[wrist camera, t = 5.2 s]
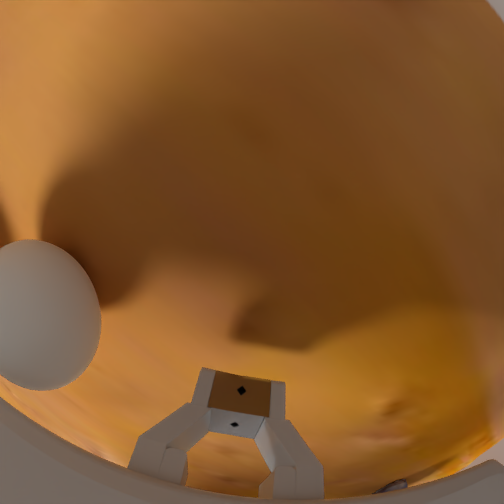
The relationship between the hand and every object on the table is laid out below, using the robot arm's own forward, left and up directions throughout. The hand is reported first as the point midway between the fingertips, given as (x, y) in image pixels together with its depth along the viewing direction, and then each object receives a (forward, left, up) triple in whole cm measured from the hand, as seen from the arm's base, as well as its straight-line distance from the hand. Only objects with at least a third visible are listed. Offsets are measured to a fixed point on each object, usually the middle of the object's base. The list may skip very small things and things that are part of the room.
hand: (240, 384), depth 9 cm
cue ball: (+2, +8, +1) cm, 8 cm away
